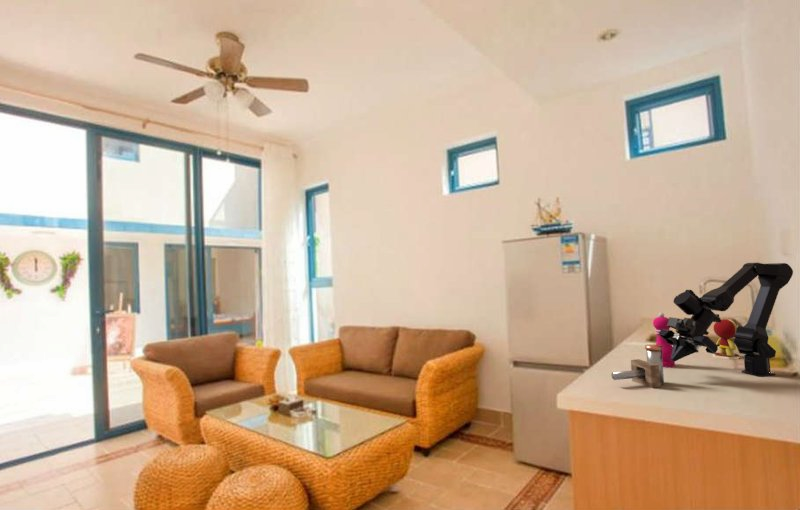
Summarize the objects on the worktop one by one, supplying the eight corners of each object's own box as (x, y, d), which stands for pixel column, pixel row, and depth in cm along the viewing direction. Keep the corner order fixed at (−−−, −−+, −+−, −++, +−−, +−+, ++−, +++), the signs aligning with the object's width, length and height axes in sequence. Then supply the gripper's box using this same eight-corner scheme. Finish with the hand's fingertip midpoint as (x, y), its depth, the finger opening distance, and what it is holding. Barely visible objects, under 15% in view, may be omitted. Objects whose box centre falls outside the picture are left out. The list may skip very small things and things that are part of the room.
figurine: (747, 358, 163) (744, 319, 164) (722, 359, 163) (719, 321, 164) (730, 354, 172) (727, 317, 173) (706, 355, 172) (703, 318, 172)
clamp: (657, 380, 140) (654, 344, 141) (669, 383, 135) (666, 346, 136) (609, 384, 138) (607, 348, 138) (619, 388, 133) (617, 350, 133)
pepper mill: (680, 367, 155) (676, 313, 156) (658, 367, 156) (654, 313, 157) (671, 363, 162) (667, 311, 163) (651, 363, 163) (647, 311, 164)
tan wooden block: (640, 380, 141) (638, 359, 142) (660, 387, 132) (658, 364, 133) (632, 380, 141) (630, 359, 141) (652, 388, 132) (650, 365, 132)
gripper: (660, 306, 149) (635, 340, 147) (706, 310, 131) (678, 349, 129) (682, 326, 150) (657, 360, 148) (730, 333, 132) (703, 373, 130)
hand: (672, 360), depth 138 cm, fingers closed
